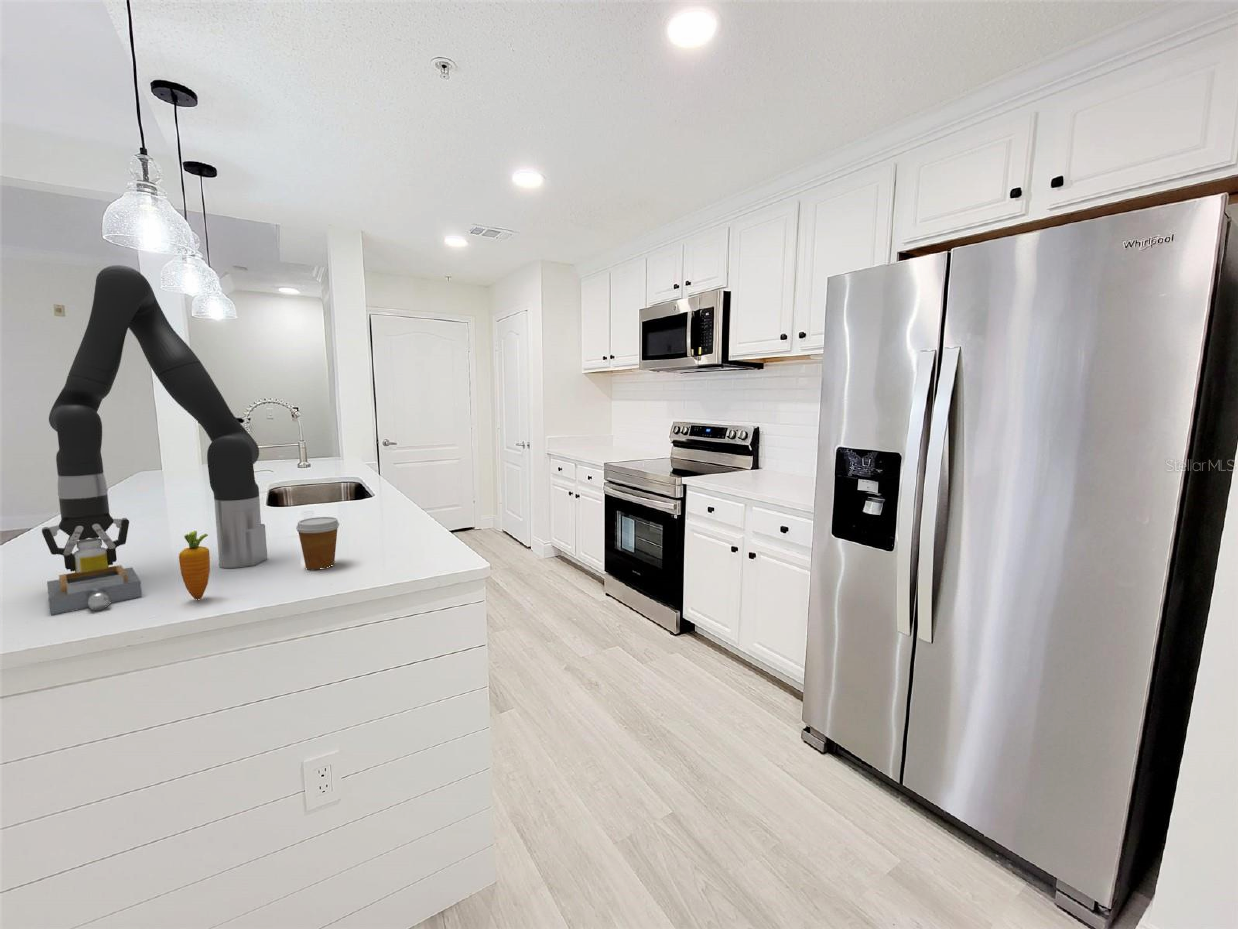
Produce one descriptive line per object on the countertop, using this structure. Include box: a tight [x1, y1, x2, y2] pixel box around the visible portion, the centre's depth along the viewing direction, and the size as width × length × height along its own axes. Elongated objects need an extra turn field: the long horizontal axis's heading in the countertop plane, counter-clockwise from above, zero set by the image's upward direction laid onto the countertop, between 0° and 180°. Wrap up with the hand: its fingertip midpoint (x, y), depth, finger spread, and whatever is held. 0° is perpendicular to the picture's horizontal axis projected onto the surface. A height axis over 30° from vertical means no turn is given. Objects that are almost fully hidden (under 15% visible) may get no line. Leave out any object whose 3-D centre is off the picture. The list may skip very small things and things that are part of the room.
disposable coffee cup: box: [295, 516, 340, 571], centre depth 129 cm, size 10×10×12 cm
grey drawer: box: [46, 564, 143, 616], centre depth 106 cm, size 13×17×5 cm
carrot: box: [178, 530, 211, 601], centre depth 106 cm, size 5×5×15 cm
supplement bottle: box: [73, 537, 110, 573], centre depth 115 cm, size 5×5×10 cm
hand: (91, 567), depth 115 cm, fingers closed on supplement bottle, 5 cm apart
